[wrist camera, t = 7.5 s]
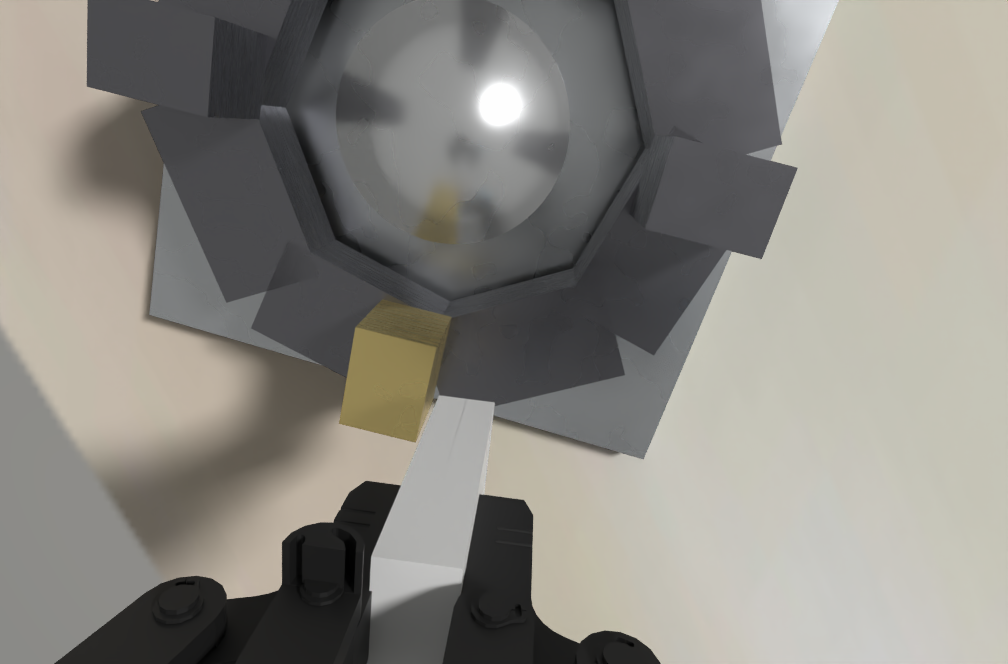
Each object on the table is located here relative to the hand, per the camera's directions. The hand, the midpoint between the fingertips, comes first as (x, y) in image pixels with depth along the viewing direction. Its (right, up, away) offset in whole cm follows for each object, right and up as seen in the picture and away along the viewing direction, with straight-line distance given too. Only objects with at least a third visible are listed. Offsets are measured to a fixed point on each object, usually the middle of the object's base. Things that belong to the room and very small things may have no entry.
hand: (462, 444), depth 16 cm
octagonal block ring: (0, +10, +4) cm, 11 cm away
